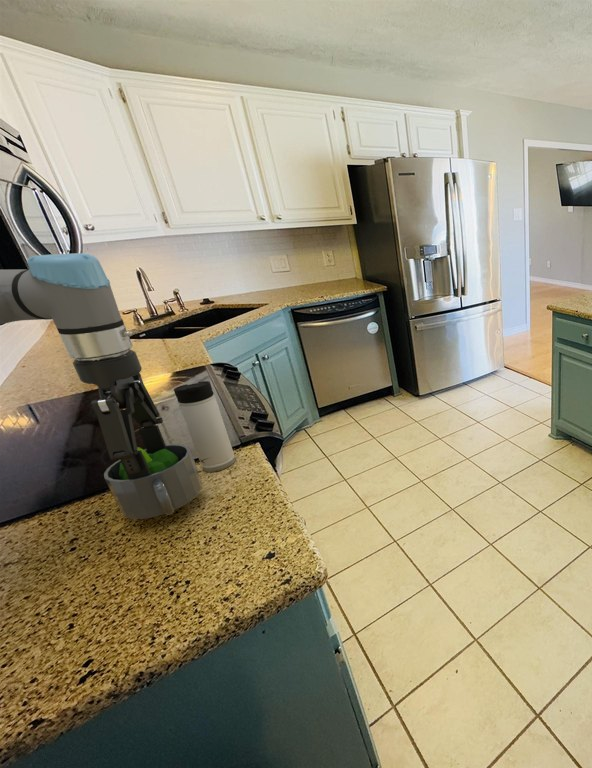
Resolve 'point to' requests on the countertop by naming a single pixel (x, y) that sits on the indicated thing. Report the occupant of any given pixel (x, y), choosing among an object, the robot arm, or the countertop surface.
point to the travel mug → (205, 425)
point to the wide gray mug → (156, 487)
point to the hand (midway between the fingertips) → (152, 470)
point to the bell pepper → (154, 462)
